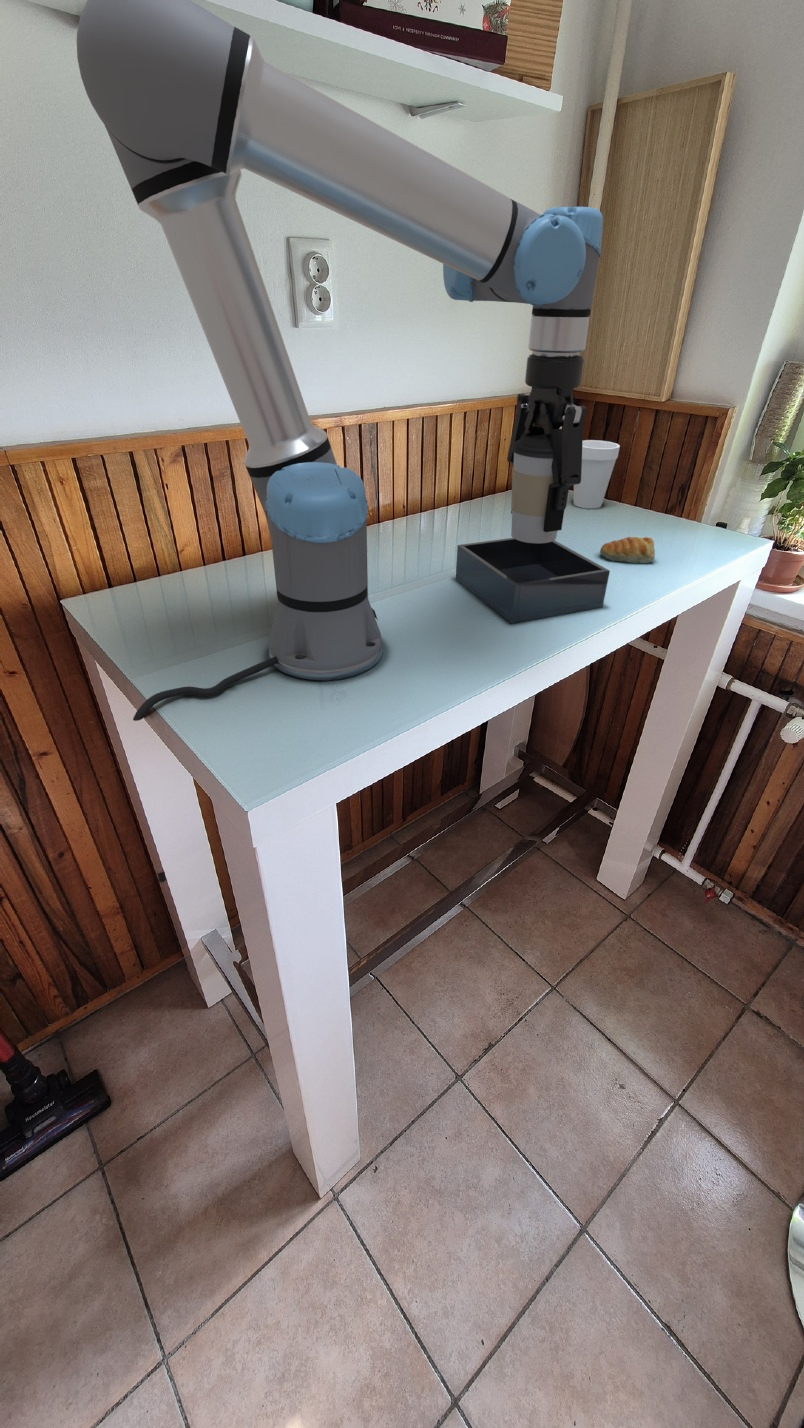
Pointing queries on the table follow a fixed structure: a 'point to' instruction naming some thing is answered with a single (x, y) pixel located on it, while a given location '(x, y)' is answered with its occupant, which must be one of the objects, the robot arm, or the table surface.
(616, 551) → the pastry
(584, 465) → the foam cup
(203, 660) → the table surface
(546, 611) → the dark grey open box
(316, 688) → the table surface
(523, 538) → the coffee cup
